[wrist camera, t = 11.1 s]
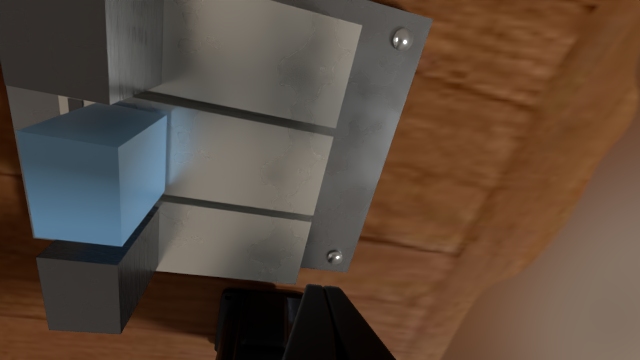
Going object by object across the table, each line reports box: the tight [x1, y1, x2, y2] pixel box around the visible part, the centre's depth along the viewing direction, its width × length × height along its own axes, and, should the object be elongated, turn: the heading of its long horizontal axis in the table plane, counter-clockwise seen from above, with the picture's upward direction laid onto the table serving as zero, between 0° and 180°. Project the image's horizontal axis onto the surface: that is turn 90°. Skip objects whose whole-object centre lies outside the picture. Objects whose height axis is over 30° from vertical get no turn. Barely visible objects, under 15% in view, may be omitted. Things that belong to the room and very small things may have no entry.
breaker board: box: [0, 0, 433, 334], centre depth 14 cm, size 16×19×8 cm
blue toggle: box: [16, 103, 167, 247], centre depth 11 cm, size 4×2×4 cm
